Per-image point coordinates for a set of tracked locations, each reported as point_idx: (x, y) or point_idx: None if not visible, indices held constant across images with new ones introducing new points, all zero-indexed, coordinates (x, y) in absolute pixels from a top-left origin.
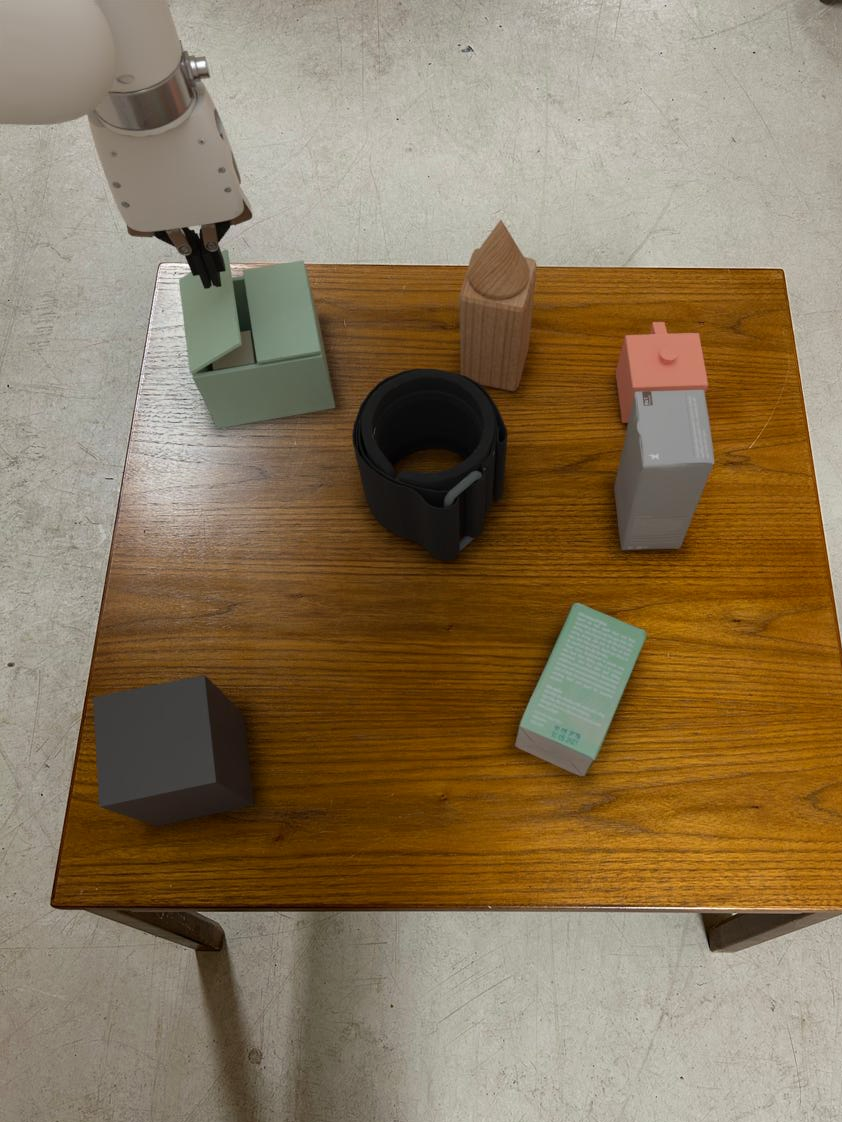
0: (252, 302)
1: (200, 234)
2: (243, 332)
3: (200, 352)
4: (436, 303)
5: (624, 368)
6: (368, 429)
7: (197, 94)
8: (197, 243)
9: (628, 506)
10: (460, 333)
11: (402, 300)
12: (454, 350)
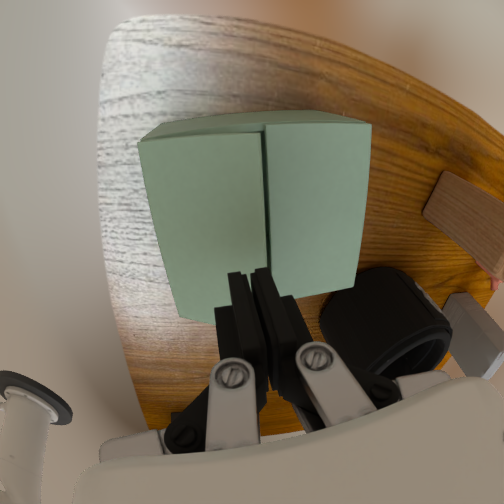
0: (277, 202)
1: (287, 386)
2: None
3: (195, 305)
4: (428, 118)
5: None
6: None
7: None
8: (265, 373)
9: (453, 350)
10: (462, 243)
11: (403, 103)
12: (426, 177)
